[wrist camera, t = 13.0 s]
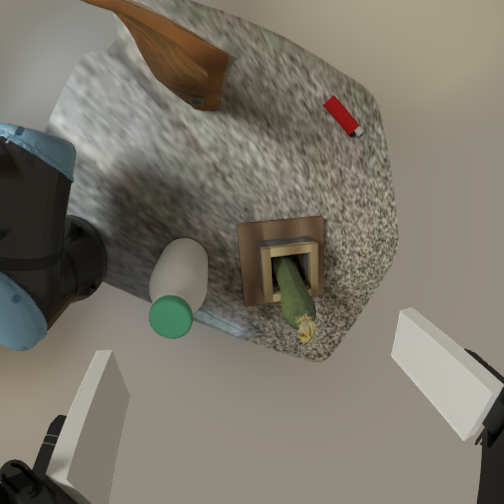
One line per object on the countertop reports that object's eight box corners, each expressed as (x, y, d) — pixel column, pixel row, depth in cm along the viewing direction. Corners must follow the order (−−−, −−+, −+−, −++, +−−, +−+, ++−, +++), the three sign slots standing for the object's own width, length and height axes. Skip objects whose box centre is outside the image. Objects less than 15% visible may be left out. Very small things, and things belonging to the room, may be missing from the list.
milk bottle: (155, 244, 46) (121, 297, 27) (200, 231, 46) (193, 277, 27) (170, 286, 48) (151, 358, 29) (214, 274, 49) (217, 342, 30)
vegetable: (297, 259, 50) (337, 341, 32) (279, 276, 51) (310, 362, 33) (279, 244, 48) (315, 326, 30) (261, 262, 49) (286, 349, 32)
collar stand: (244, 302, 51) (248, 321, 45) (236, 223, 47) (240, 232, 41) (320, 291, 52) (333, 307, 46) (319, 215, 48) (335, 223, 42)
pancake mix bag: (206, 135, 42) (198, 87, 15) (126, 63, 36) (49, -23, 10) (237, 105, 41) (274, 27, 15) (156, 36, 36) (112, -70, 9)
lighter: (335, 94, 42) (365, 130, 44) (332, 96, 43) (361, 131, 45) (324, 104, 42) (355, 140, 44) (321, 105, 43) (351, 140, 46)
